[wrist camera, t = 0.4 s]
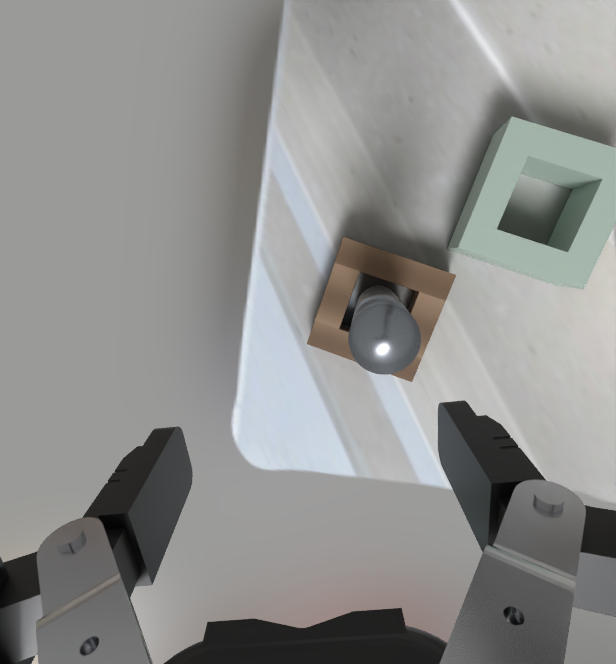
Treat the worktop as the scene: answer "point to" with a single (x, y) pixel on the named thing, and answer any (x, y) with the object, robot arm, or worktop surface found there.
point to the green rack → (575, 220)
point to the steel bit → (383, 332)
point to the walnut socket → (391, 268)
